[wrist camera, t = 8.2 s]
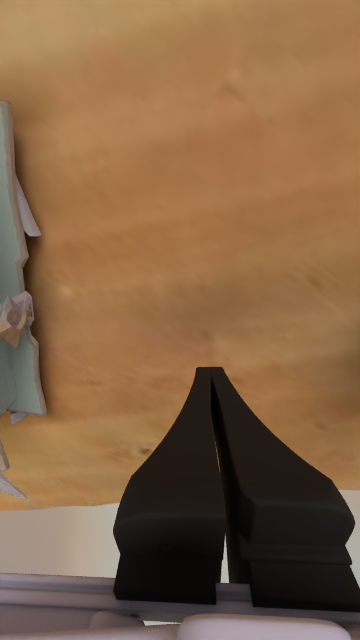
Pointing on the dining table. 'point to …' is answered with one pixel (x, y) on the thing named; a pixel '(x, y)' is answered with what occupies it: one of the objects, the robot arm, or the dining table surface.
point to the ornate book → (15, 299)
